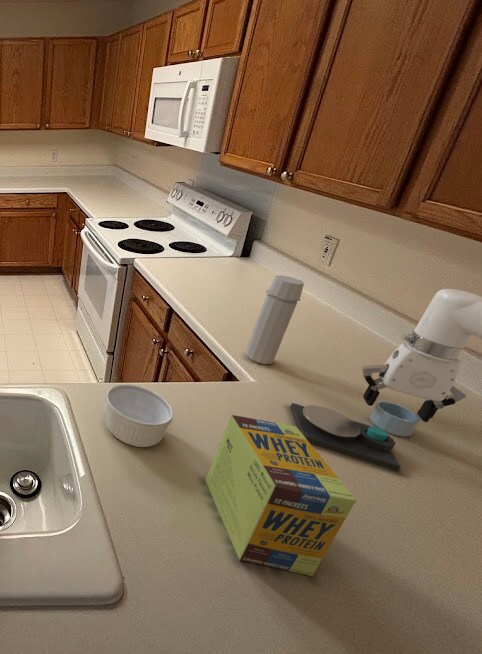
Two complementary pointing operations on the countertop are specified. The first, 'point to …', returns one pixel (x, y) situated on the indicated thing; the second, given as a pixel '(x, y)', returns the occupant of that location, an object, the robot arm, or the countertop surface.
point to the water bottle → (274, 319)
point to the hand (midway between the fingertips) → (394, 410)
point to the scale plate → (331, 421)
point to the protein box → (276, 495)
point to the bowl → (394, 418)
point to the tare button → (377, 433)
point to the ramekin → (137, 415)
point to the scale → (348, 441)
